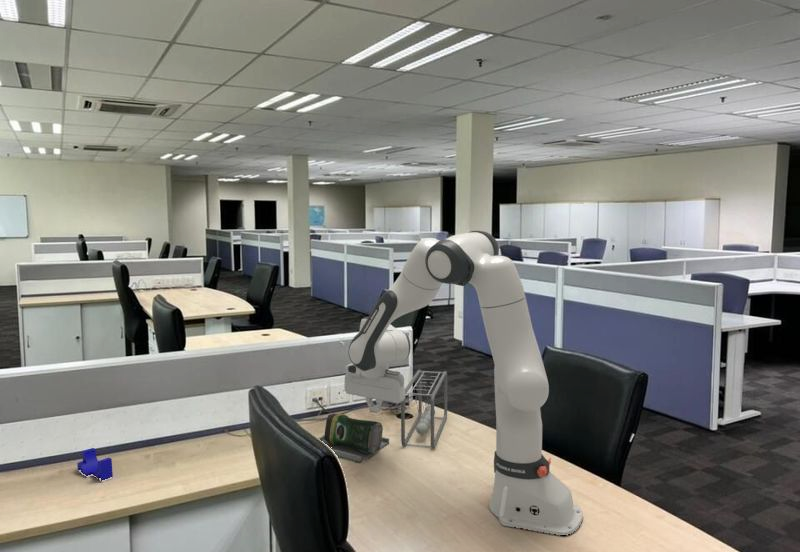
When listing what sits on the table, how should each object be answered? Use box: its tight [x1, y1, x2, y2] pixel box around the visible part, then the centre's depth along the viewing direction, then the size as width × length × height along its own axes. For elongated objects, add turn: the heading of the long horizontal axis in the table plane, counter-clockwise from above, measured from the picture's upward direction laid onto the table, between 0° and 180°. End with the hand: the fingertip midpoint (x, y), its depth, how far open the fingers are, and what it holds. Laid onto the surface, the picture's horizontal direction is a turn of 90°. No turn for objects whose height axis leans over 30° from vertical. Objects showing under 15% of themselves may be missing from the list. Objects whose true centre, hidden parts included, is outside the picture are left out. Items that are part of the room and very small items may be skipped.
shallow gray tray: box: [318, 434, 390, 464], centre depth 181 cm, size 20×16×2 cm
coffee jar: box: [323, 413, 384, 455], centre depth 179 cm, size 10×8×19 cm
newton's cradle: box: [400, 369, 448, 450], centre depth 192 cm, size 30×10×18 cm, turn 167°
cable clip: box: [76, 447, 114, 481], centre depth 162 cm, size 12×4×6 cm, turn 51°
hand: (374, 411), depth 175 cm, fingers closed
